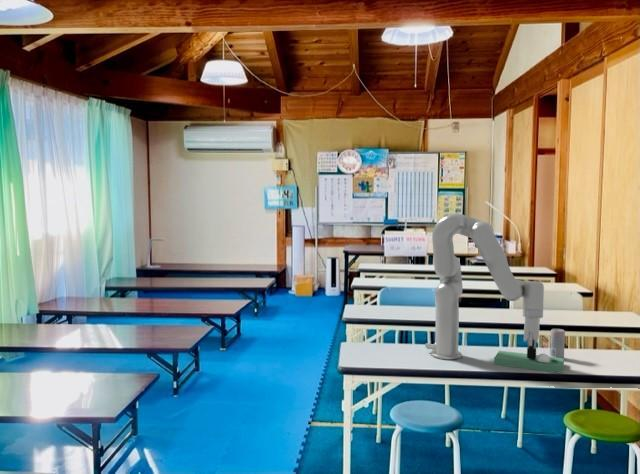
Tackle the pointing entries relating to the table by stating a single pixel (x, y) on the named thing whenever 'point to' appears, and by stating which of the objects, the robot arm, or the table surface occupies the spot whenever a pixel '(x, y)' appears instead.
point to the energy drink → (557, 343)
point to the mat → (528, 362)
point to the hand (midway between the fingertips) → (531, 357)
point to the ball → (543, 358)
